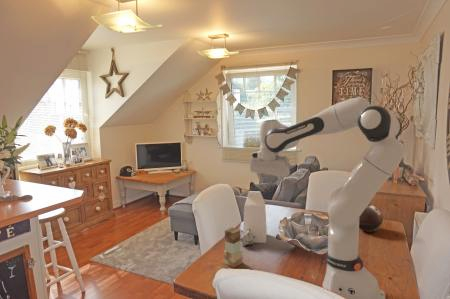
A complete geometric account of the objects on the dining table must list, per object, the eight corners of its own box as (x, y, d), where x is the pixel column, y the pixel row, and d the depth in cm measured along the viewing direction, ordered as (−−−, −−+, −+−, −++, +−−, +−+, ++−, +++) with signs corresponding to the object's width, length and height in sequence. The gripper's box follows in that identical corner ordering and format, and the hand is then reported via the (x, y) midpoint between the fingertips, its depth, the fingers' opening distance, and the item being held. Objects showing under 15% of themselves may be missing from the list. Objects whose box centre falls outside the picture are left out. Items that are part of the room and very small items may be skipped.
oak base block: (242, 262, 148) (242, 250, 147) (233, 267, 144) (233, 255, 143) (232, 258, 152) (232, 246, 151) (223, 263, 148) (223, 251, 147)
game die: (249, 253, 166) (254, 243, 159) (234, 246, 167) (238, 236, 160) (254, 239, 172) (259, 229, 165) (239, 232, 173) (243, 222, 166)
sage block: (240, 250, 147) (240, 240, 146) (233, 254, 143) (233, 244, 143) (232, 247, 150) (232, 237, 150) (225, 251, 147) (225, 241, 146)
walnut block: (240, 240, 147) (240, 229, 146) (233, 243, 143) (233, 233, 142) (232, 237, 150) (232, 227, 149) (225, 241, 146) (224, 230, 146)
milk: (243, 241, 171) (242, 194, 167) (245, 233, 182) (244, 188, 178) (265, 243, 169) (265, 195, 165) (266, 234, 180) (266, 189, 176)
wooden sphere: (380, 238, 171) (381, 211, 169) (350, 232, 179) (351, 206, 177) (383, 228, 184) (384, 203, 182) (355, 224, 192) (356, 199, 190)
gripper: (292, 155, 144) (292, 185, 146) (256, 152, 158) (256, 179, 160) (285, 157, 140) (284, 188, 142) (248, 153, 153) (248, 181, 155)
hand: (269, 183), depth 151 cm, fingers open, 8 cm apart
